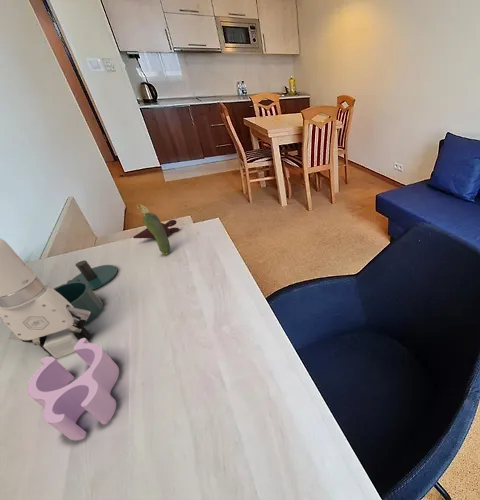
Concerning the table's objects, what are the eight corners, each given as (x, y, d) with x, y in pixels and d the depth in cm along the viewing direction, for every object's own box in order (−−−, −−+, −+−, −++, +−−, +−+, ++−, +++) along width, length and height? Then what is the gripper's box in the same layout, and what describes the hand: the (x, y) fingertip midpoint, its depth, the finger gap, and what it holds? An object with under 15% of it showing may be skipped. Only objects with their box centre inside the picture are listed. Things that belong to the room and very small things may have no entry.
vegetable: (173, 249, 108) (147, 198, 97) (177, 253, 106) (151, 202, 94) (160, 254, 106) (132, 203, 95) (164, 259, 103) (136, 207, 92)
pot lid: (62, 300, 90) (46, 282, 86) (76, 275, 100) (62, 258, 96) (113, 286, 93) (100, 268, 89) (121, 263, 104) (110, 246, 100)
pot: (37, 349, 75) (15, 329, 71) (62, 303, 89) (45, 284, 84) (94, 331, 78) (77, 311, 74) (110, 289, 92) (96, 270, 88)
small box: (60, 343, 76) (48, 330, 73) (87, 333, 78) (76, 320, 75) (55, 360, 72) (41, 347, 69) (84, 349, 74) (71, 336, 71)
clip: (131, 407, 60) (113, 389, 56) (54, 458, 54) (27, 440, 50) (112, 349, 73) (96, 330, 69) (48, 384, 66) (26, 366, 62)
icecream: (132, 236, 105) (178, 223, 113) (127, 224, 109) (172, 212, 117) (138, 250, 110) (182, 237, 118) (134, 238, 114) (177, 226, 122)
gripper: (-43, 317, 59) (22, 371, 69) (61, 289, 64) (107, 343, 74) (-22, 294, 65) (35, 346, 75) (72, 269, 70) (114, 322, 80)
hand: (70, 344), depth 75 cm, fingers closed on small box, 6 cm apart
